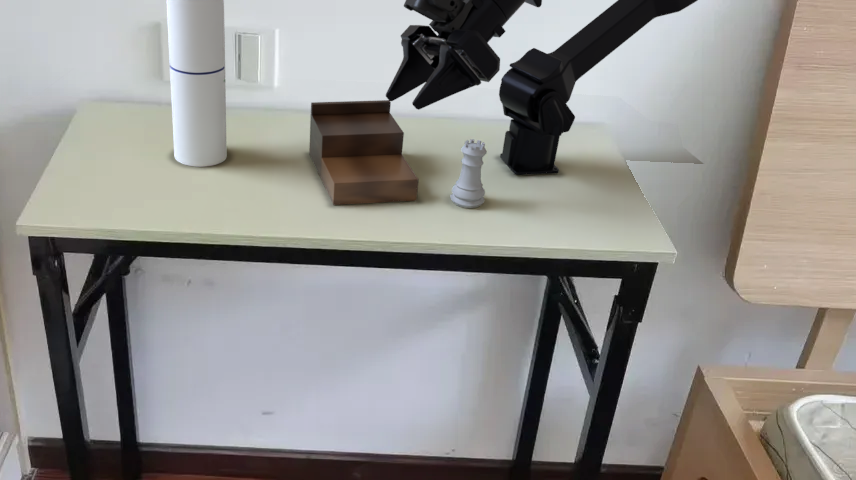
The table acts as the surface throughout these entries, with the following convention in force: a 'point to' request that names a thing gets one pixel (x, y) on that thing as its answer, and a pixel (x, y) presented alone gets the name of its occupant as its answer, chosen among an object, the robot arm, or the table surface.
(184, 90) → the cylindrical container
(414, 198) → the brown wooden stepped block
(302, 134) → the table surface
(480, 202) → the rook chess piece
